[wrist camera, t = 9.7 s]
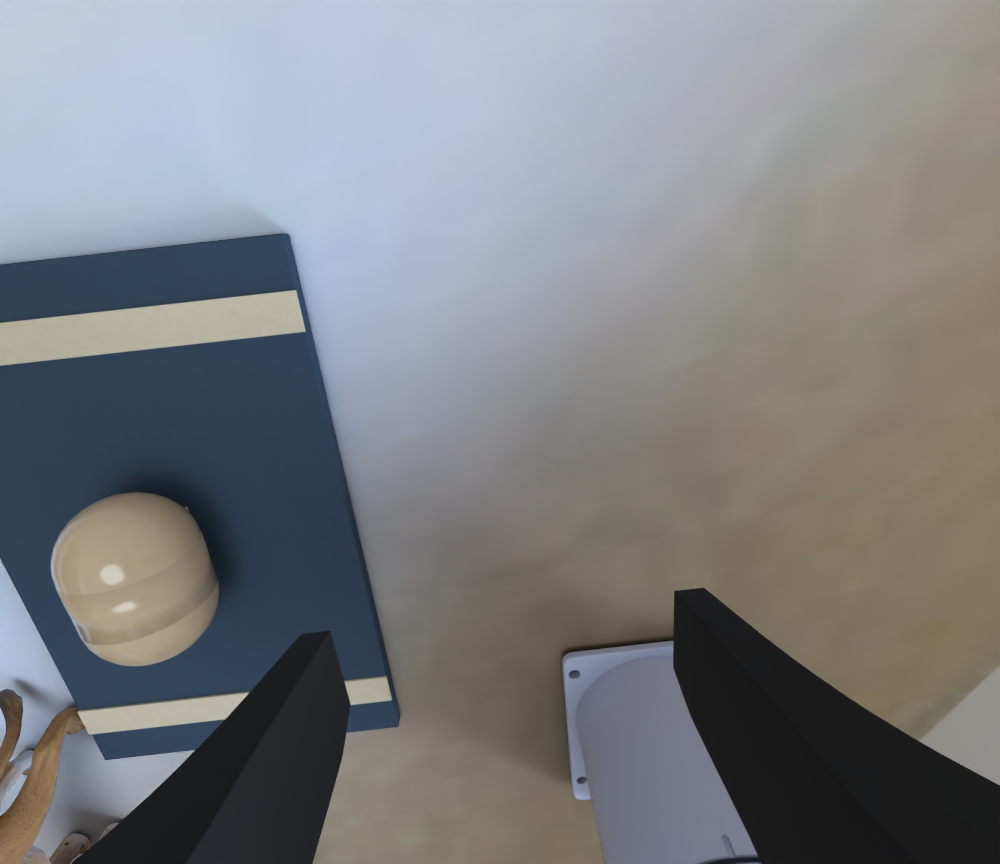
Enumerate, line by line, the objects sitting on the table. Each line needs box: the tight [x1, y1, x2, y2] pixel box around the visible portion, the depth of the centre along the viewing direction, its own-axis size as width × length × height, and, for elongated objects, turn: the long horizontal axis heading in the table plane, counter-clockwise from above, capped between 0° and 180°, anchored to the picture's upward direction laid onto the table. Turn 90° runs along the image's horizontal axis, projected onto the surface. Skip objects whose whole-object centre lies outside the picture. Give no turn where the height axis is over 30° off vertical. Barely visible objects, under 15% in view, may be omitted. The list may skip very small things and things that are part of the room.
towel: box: [0, 234, 400, 760], centre depth 21 cm, size 22×14×1 cm, turn 6°
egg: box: [50, 492, 220, 667], centre depth 19 cm, size 6×4×4 cm
